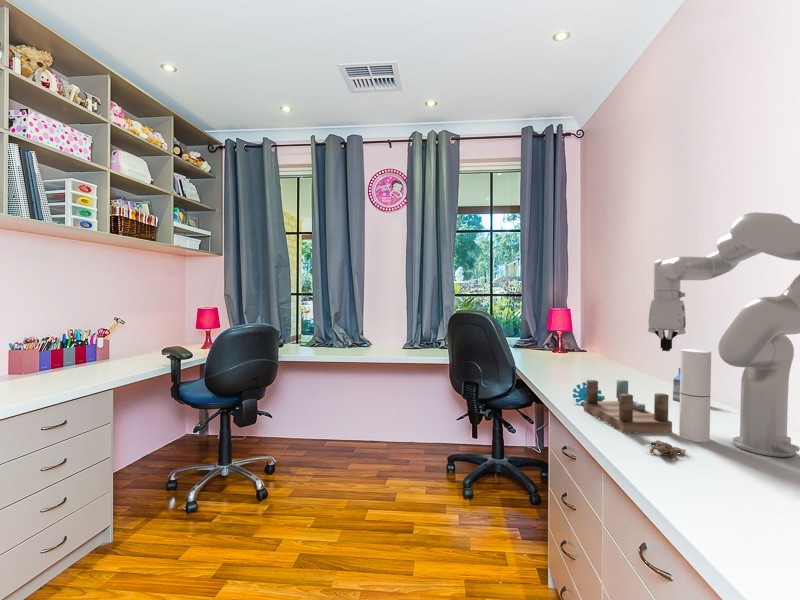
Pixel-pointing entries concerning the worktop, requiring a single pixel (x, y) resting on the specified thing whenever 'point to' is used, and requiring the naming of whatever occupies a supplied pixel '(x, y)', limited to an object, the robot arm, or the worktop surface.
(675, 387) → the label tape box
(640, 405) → the swing leg
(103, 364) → the worktop surface
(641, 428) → the stool seat
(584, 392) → the blue spiky piece
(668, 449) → the frog figurine
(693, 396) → the cylindrical container
